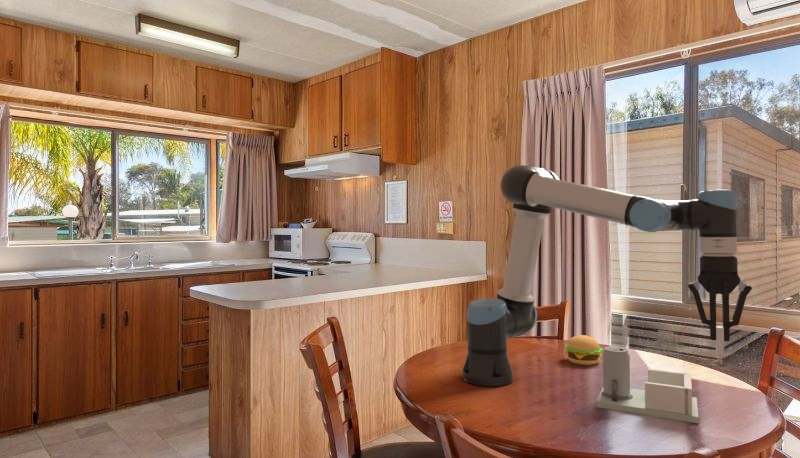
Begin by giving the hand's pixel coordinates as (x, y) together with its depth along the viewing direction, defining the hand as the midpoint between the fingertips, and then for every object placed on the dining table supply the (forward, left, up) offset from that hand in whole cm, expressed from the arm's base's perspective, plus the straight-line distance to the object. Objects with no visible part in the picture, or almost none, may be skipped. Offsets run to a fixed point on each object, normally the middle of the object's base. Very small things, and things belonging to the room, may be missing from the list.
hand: (720, 354), depth 116 cm
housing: (-11, 0, -13) cm, 17 cm away
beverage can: (-23, 0, -13) cm, 26 cm away
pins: (-23, 0, -13) cm, 26 cm away
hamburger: (-37, +35, -15) cm, 53 cm away
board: (-16, 0, -15) cm, 22 cm away
